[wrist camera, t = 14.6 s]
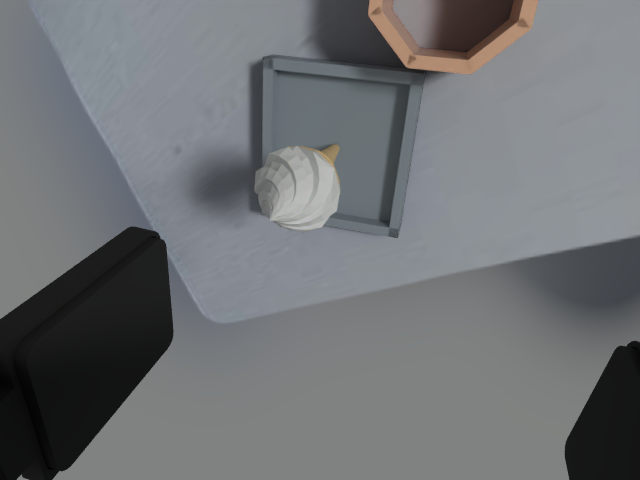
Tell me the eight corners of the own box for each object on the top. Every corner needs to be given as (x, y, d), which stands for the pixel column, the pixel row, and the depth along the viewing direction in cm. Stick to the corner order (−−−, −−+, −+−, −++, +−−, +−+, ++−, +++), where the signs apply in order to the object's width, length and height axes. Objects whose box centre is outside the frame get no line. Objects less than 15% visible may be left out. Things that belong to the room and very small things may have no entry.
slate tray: (272, 54, 37) (263, 57, 35) (425, 70, 35) (423, 73, 33) (269, 205, 43) (261, 214, 41) (400, 228, 41) (397, 238, 39)
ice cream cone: (312, 183, 40) (240, 269, 27) (295, 118, 38) (208, 179, 25) (376, 173, 38) (330, 261, 25) (362, 104, 36) (304, 162, 23)
